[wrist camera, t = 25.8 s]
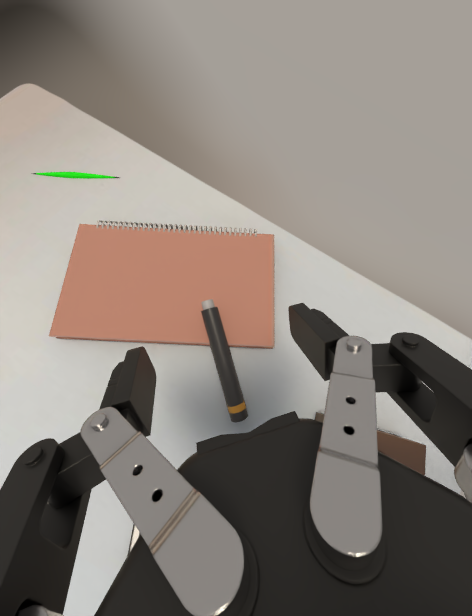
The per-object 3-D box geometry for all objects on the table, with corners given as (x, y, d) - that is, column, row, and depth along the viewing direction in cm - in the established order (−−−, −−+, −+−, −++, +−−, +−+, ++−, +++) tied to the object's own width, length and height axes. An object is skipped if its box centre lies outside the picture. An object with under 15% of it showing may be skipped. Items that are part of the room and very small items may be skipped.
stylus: (203, 300, 26) (238, 423, 26) (218, 297, 28) (251, 415, 27) (195, 304, 28) (227, 420, 28) (209, 301, 29) (241, 412, 29)
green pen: (33, 173, 38) (29, 169, 37) (121, 177, 38) (119, 173, 38) (32, 177, 38) (28, 173, 37) (121, 181, 38) (118, 178, 37)
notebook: (272, 235, 36) (274, 226, 34) (272, 348, 31) (274, 346, 29) (88, 225, 35) (80, 216, 33) (58, 338, 30) (47, 335, 28)
